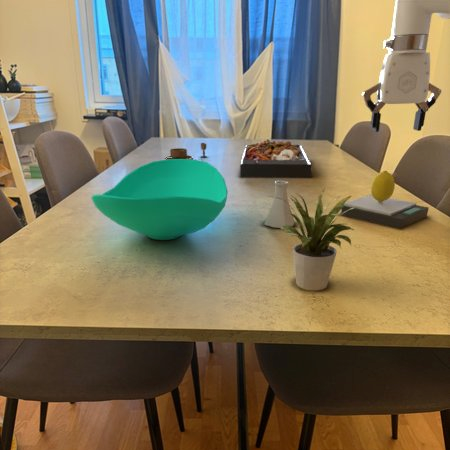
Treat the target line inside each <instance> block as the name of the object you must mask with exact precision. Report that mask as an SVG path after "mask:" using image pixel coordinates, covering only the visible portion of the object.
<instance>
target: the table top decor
mask: <svg viewBox="0 0 450 450" xmlns="http://www.w3.org/2000/svg"><path fill="white" fill-rule="evenodd" d="M228 192H229V191H228V188H227V183H226V180H225V178H224V176H223V175H222V174H221V172H220V171H219V169H217V167H215V166H213V165H211V164H210V163H209V162H206V161H202V160H199V159H193V160H191V159H167V160H165V159H161V160H154V161H151V162H149V163H146V164H143V165H140V166H138V167H136V168H135V169H133V170H132V171H130V172H129V173H127V174H125V176H124V177H122V178H121V180H120V181H119V182H117V183H116V185H115V186H114V187H112V188H111V189H109V190H107V191H105V192H103V193H102V194H93V195H92V196H91V200H92V203H93V204H94V207H95V208H96V209H97V210H98V211H99V212H100V213H102V215H103V216H105V217H107V218H108V219H110V220H111V221H113V222H114V223H116V224H117V225H118V226H121V227H124V228H126V229H128V230H131V231H133V232H136V233H139V234H141V235H144V236H146V237H148V238H150V239H152V240H156V241H159V240H160V241H169V240H170V241H171V240H175V239H178V238H180V237H182V236H187V235H191V234H194V233H197V232H199V231H201V230H203V229H204V228H206V227H207V226H209V225H211V223H212V222H214V220H216V218H217V217H218V216H219V215H220V214H221V213H222V211H223V210H224V208H225V206H226V203H227V200H228V194H229V193H228Z"/></svg>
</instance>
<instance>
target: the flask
mask: <svg viewBox="0 0 450 450" xmlns="http://www.w3.org/2000/svg"><path fill="white" fill-rule="evenodd" d="M289 183H290V182H289V181H286V180H277V181H274V186H275V192H274V196H273V201H272V204H271V206H270V209H269V212H268V214H267V216H266V219H265V221H264V224H263V225H265V226H268V227H271V228H278V229H280V228H282V227H283V226H285V225H290V226H292V227H294V225H295V218H294V217H293V216H292V215H291V214H287V213H292V214H293V212H292V209H291V207H290V206H291V205H290V202H289V198H288V186H289ZM275 197H278V198H281V199H283V200H284V201H283V200H281V199H278V198H275ZM285 201H286V202H287V203H288V204H289V205H290V206H289V205H288V204H287V203H286V202H285Z"/></svg>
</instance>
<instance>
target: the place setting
mask: <svg viewBox="0 0 450 450" xmlns="http://www.w3.org/2000/svg"><path fill="white" fill-rule="evenodd" d="M200 150H201V151H202V156H200V158H202V159H204V158H208V156H206V150H207V142H201V143H200ZM169 152H170V155H167V156H165V157H164V160H165V159H166V158H167V157H172V158H167V159H191V160H194V156H193V155H188V149H187V148H184V147H183V148H181V147H180V148H179V147H177V148H176V147H175V148H170V150H169ZM167 159H166V160H167Z"/></svg>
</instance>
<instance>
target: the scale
mask: <svg viewBox="0 0 450 450" xmlns="http://www.w3.org/2000/svg"><path fill="white" fill-rule="evenodd" d="M354 207H357V208H354ZM351 208H353V209H351ZM349 209H350V210H349ZM347 210H348V211H347ZM345 211H346V212H345ZM344 212H345V213H344ZM428 213H429V207H428V206H423V205H417V202H413V201H407V200H402V199H397V198H391V197H390V198H389V199H387V200H385V201H383V202H382V203H379V202H378V201H377V200H376V199H374V198H373V196H372V194H371V193H370V194H367V195H364V196H361V197H358V198H355V199H352V200H349V201H346V202H345V203H344V205H343V208H342V209H341V210H340V215H341V214H342V215H341V216H343V217H347V218H352V219H356V220H360V221H364V222H369V223H372V224H378V225H381V226H386V227H390V228H394V229H398V230H401V229H403V228H405V227H408V226H410V225H412V224H414V223H416V222H419V221H420V220H422V219H423V220H424V219H425V218H427V217H428Z"/></svg>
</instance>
